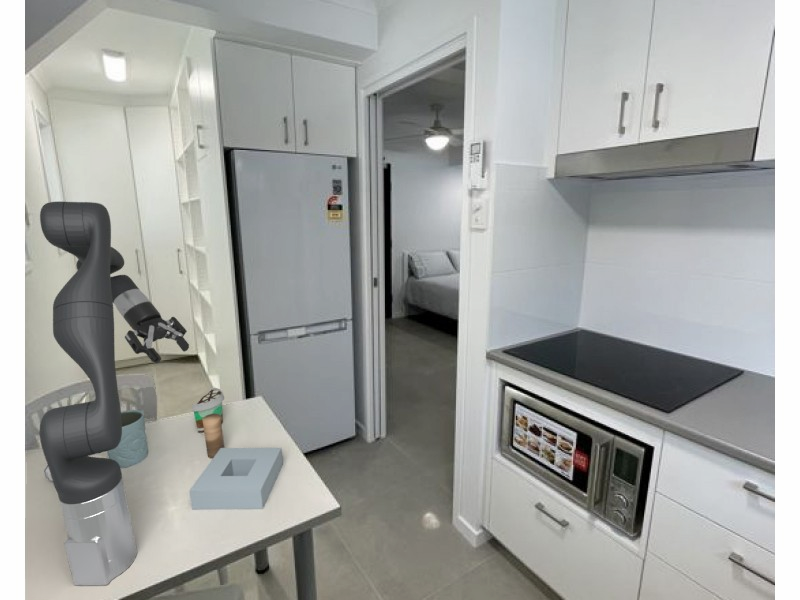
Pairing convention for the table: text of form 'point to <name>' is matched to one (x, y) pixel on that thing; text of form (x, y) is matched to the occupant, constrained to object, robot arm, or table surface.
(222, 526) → the table surface
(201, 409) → the food container
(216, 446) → the peg
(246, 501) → the socket block
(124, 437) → the teal plant pot
